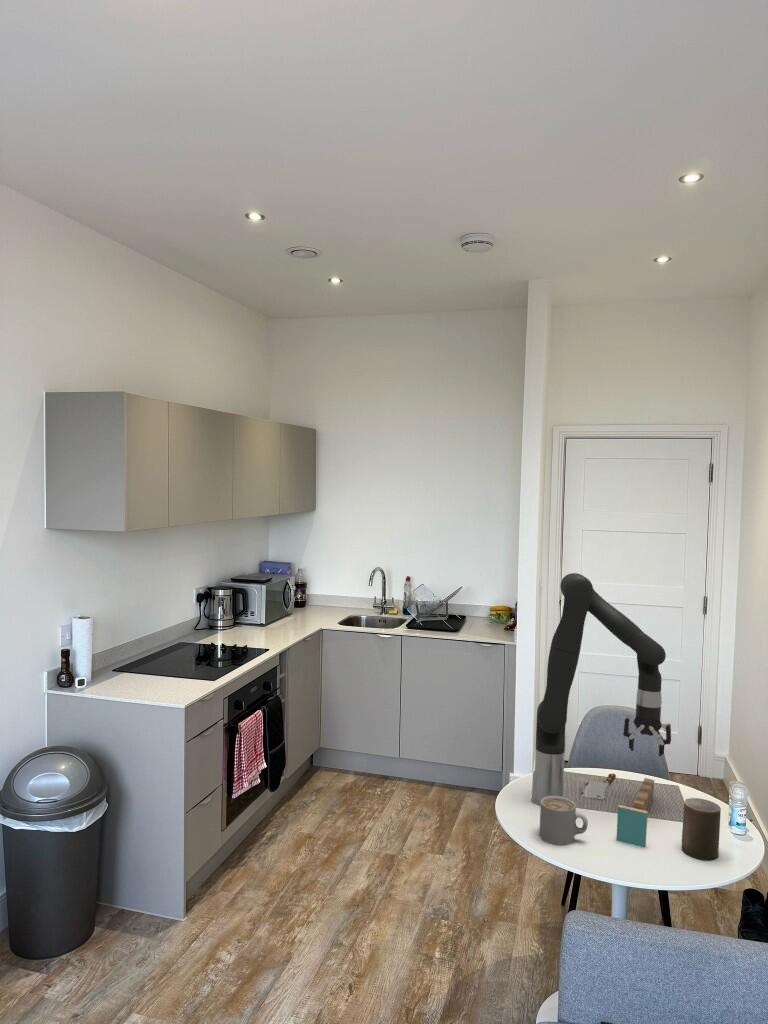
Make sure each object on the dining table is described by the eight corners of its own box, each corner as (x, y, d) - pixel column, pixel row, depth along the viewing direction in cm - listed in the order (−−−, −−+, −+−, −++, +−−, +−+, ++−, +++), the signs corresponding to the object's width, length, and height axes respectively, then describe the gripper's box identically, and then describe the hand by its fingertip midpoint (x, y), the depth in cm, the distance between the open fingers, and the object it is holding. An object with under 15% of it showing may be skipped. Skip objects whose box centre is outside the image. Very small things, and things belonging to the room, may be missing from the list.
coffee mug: (534, 838, 209) (536, 805, 208) (545, 825, 217) (547, 793, 217) (580, 852, 202) (582, 817, 201) (590, 838, 210) (591, 804, 210)
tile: (616, 840, 209) (618, 806, 209) (617, 838, 211) (618, 804, 210) (645, 847, 206) (646, 813, 205) (645, 845, 207) (647, 811, 207)
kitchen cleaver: (593, 769, 261) (622, 775, 255) (594, 772, 261) (622, 778, 255) (573, 794, 240) (603, 800, 235) (573, 797, 240) (603, 803, 235)
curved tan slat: (642, 823, 221) (643, 804, 221) (632, 821, 222) (633, 802, 222) (653, 797, 240) (654, 779, 240) (643, 795, 242) (644, 777, 242)
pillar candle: (711, 864, 198) (714, 811, 197) (675, 851, 204) (678, 799, 204) (723, 852, 205) (726, 800, 204) (688, 840, 211) (691, 789, 211)
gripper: (623, 702, 230) (621, 752, 231) (671, 710, 223) (668, 761, 224) (627, 696, 237) (625, 744, 237) (673, 703, 230) (671, 753, 231)
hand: (646, 752), depth 231 cm, fingers open, 8 cm apart
